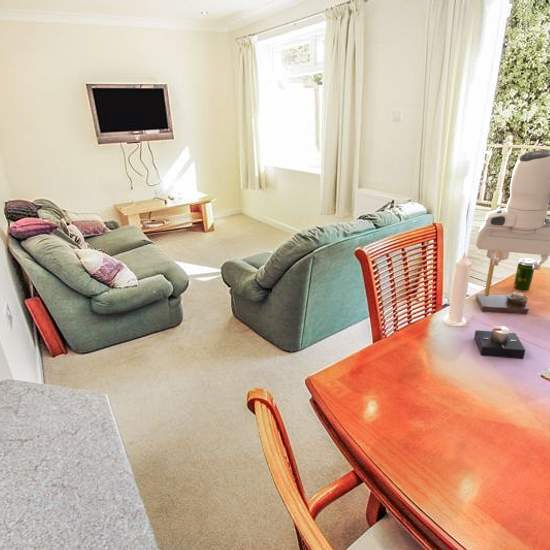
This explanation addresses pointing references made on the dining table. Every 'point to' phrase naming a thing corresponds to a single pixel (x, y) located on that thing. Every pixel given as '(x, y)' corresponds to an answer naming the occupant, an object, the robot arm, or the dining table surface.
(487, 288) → the desk lamp
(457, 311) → the candle
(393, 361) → the dining table surface
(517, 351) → the dimmer panel
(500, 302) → the lamp base
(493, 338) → the dimmer knob
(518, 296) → the lamp switch
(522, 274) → the beer can
